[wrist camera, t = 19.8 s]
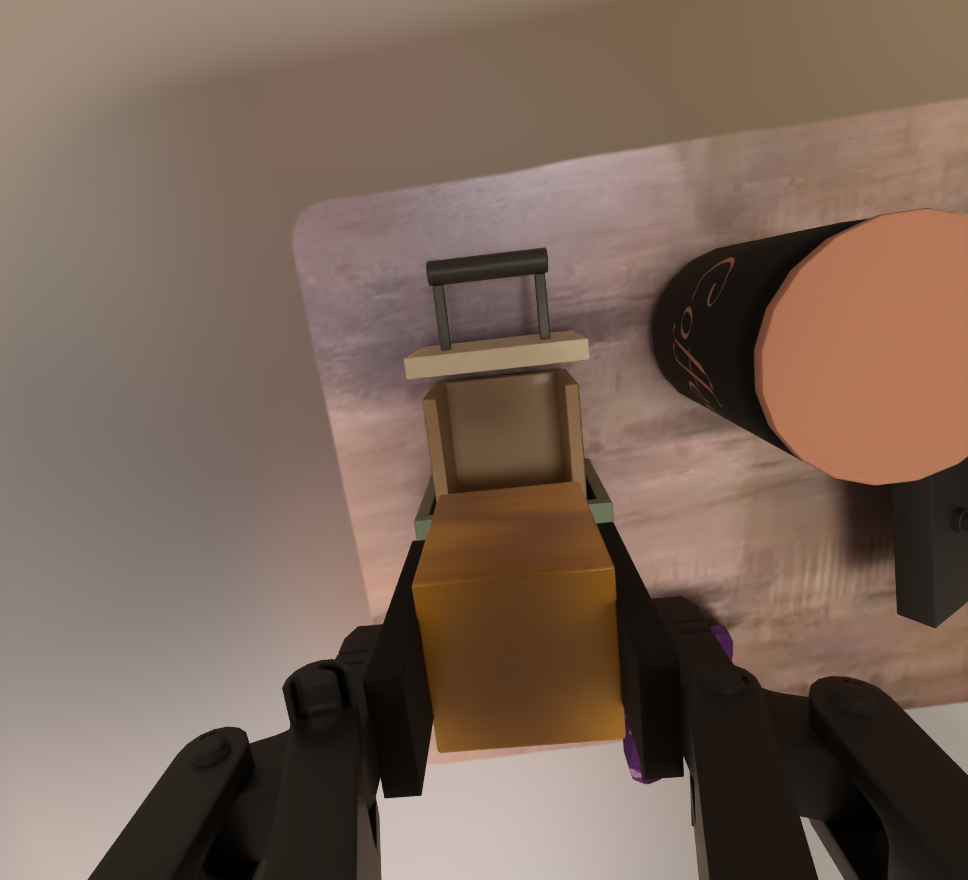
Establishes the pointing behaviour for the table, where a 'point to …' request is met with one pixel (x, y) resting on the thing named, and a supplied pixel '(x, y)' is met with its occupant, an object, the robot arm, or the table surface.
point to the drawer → (500, 392)
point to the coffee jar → (832, 342)
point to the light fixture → (931, 544)
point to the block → (519, 620)
